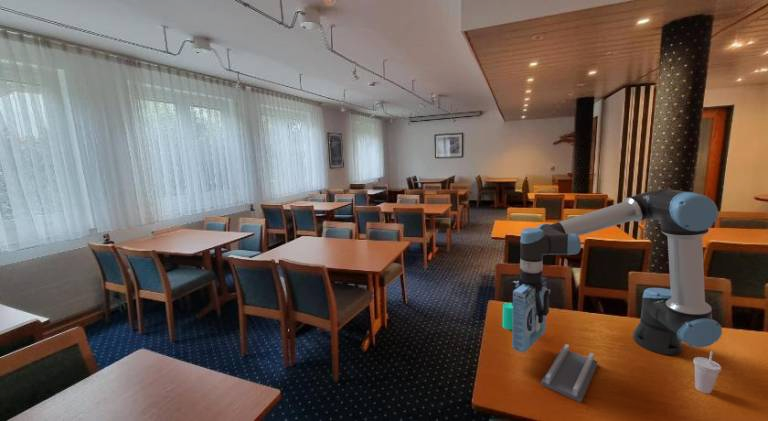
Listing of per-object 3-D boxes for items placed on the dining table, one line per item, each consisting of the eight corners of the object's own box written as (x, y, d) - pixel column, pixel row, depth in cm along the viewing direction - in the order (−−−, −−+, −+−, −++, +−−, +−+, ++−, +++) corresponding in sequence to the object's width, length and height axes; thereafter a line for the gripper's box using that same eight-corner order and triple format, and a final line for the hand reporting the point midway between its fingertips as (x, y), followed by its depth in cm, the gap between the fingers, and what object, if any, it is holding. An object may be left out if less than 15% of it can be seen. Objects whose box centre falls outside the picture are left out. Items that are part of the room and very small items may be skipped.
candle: (517, 330, 141) (518, 305, 139) (503, 329, 142) (504, 305, 140) (514, 323, 147) (515, 299, 145) (501, 322, 148) (502, 299, 146)
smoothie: (720, 399, 99) (727, 359, 97) (692, 392, 103) (698, 353, 100) (713, 386, 105) (719, 348, 102) (687, 379, 108) (692, 343, 105)
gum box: (524, 354, 114) (526, 295, 109) (510, 348, 117) (511, 290, 113) (546, 331, 126) (548, 278, 122) (533, 327, 130) (534, 274, 126)
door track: (597, 364, 117) (598, 355, 116) (581, 402, 100) (582, 391, 100) (561, 351, 125) (562, 342, 125) (541, 384, 108) (541, 374, 108)
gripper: (502, 267, 120) (502, 323, 124) (554, 278, 108) (552, 340, 112) (510, 262, 126) (509, 315, 130) (561, 272, 113) (558, 331, 117)
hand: (529, 327), depth 121 cm, fingers closed on gum box, 5 cm apart
